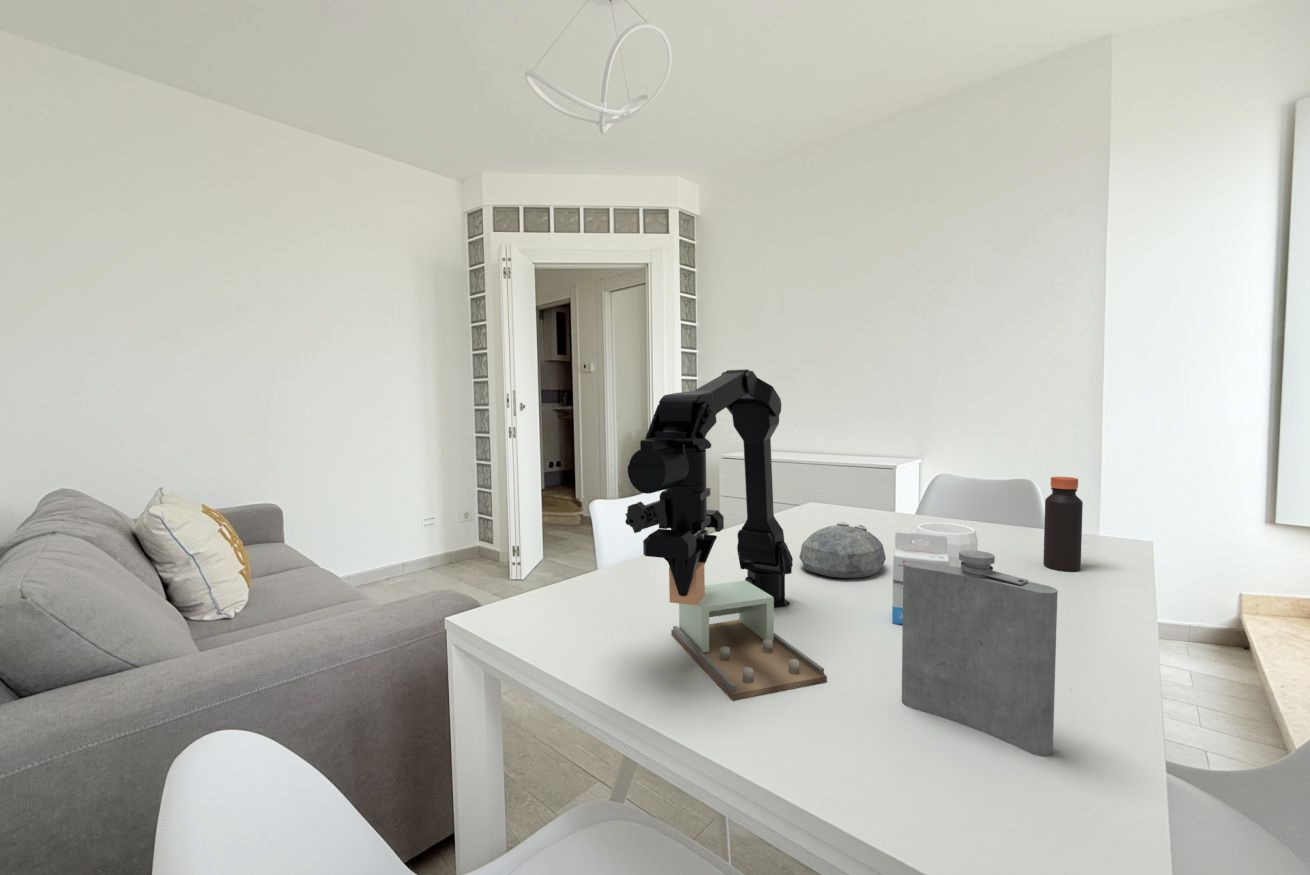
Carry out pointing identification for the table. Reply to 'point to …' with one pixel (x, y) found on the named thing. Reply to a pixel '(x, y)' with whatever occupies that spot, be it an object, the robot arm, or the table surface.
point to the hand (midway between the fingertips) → (687, 590)
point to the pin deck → (751, 661)
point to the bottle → (1063, 525)
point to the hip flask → (981, 649)
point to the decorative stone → (843, 552)
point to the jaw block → (695, 590)
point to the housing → (728, 611)
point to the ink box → (913, 552)
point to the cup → (950, 538)
